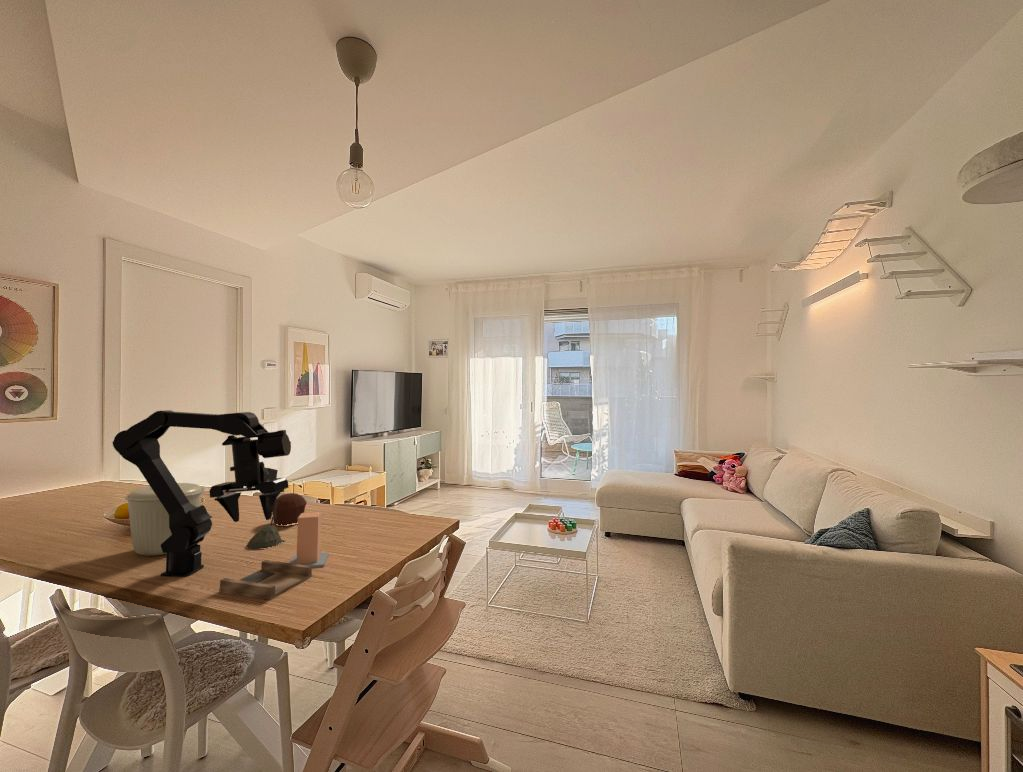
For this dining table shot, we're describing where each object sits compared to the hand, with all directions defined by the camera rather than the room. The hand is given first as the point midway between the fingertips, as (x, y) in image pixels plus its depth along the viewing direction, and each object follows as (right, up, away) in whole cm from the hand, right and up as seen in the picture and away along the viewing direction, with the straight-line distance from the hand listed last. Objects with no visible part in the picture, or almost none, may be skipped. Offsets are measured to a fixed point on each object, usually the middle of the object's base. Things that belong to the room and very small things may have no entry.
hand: (252, 520), depth 111 cm
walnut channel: (+9, -12, -9) cm, 18 cm away
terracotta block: (+12, -12, +5) cm, 18 cm away
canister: (-33, -12, +12) cm, 37 cm away
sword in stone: (-7, -13, +18) cm, 24 cm away
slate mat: (+12, -13, +5) cm, 18 cm away
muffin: (-12, -14, +40) cm, 44 cm away
